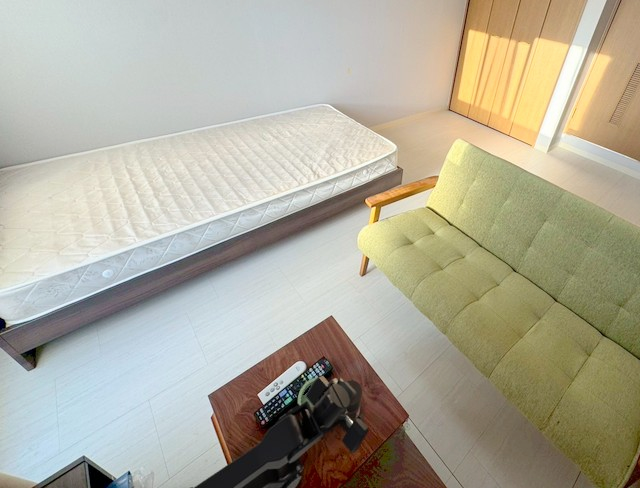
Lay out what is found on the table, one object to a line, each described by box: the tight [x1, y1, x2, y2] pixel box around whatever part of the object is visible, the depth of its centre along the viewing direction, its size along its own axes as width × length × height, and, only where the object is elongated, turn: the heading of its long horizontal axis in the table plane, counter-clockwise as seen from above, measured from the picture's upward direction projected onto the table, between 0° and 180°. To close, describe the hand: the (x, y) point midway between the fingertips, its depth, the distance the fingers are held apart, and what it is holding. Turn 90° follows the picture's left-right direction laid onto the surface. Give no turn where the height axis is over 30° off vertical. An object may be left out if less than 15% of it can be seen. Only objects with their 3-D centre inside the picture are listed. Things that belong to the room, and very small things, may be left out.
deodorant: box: [346, 379, 363, 422], centre depth 86 cm, size 6×6×15 cm
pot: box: [297, 377, 317, 417], centre depth 90 cm, size 10×10×4 cm
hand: (352, 401), depth 86 cm, fingers open, 9 cm apart
